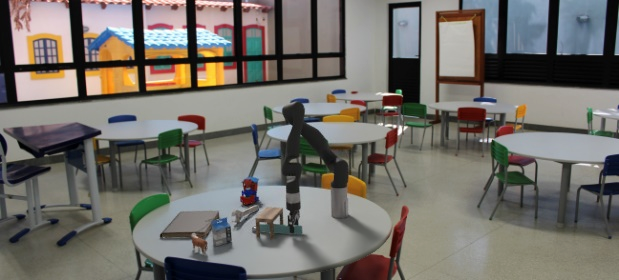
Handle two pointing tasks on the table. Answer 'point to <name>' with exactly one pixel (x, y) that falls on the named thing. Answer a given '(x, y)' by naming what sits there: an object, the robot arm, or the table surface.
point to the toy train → (249, 190)
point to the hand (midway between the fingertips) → (294, 230)
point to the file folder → (190, 224)
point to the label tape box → (221, 232)
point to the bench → (268, 219)
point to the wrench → (243, 213)
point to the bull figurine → (199, 243)
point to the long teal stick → (280, 228)
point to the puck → (254, 229)
